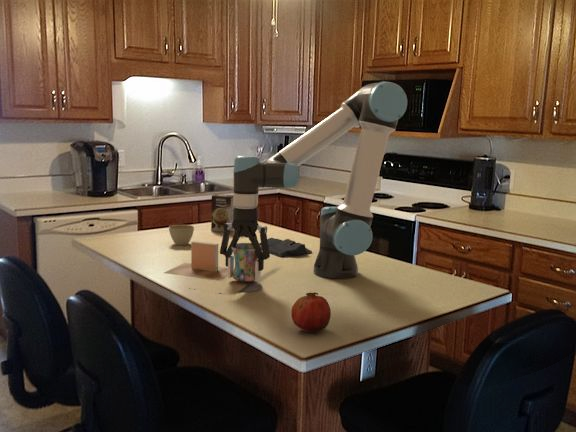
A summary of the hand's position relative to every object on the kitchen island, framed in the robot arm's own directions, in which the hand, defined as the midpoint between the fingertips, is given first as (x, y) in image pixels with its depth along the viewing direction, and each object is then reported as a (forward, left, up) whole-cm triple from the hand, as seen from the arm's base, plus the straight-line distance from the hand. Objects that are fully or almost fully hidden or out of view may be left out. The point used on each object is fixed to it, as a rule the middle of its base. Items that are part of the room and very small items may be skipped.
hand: (244, 278), depth 184 cm
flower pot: (+46, -43, -3) cm, 63 cm away
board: (+18, -6, -3) cm, 19 cm away
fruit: (-30, +27, -3) cm, 41 cm away
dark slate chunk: (+6, -51, -3) cm, 51 cm away
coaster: (0, 0, -3) cm, 3 cm away
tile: (+18, -9, -1) cm, 20 cm away
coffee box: (+43, -75, -3) cm, 86 cm away
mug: (-1, 0, -1) cm, 1 cm away
